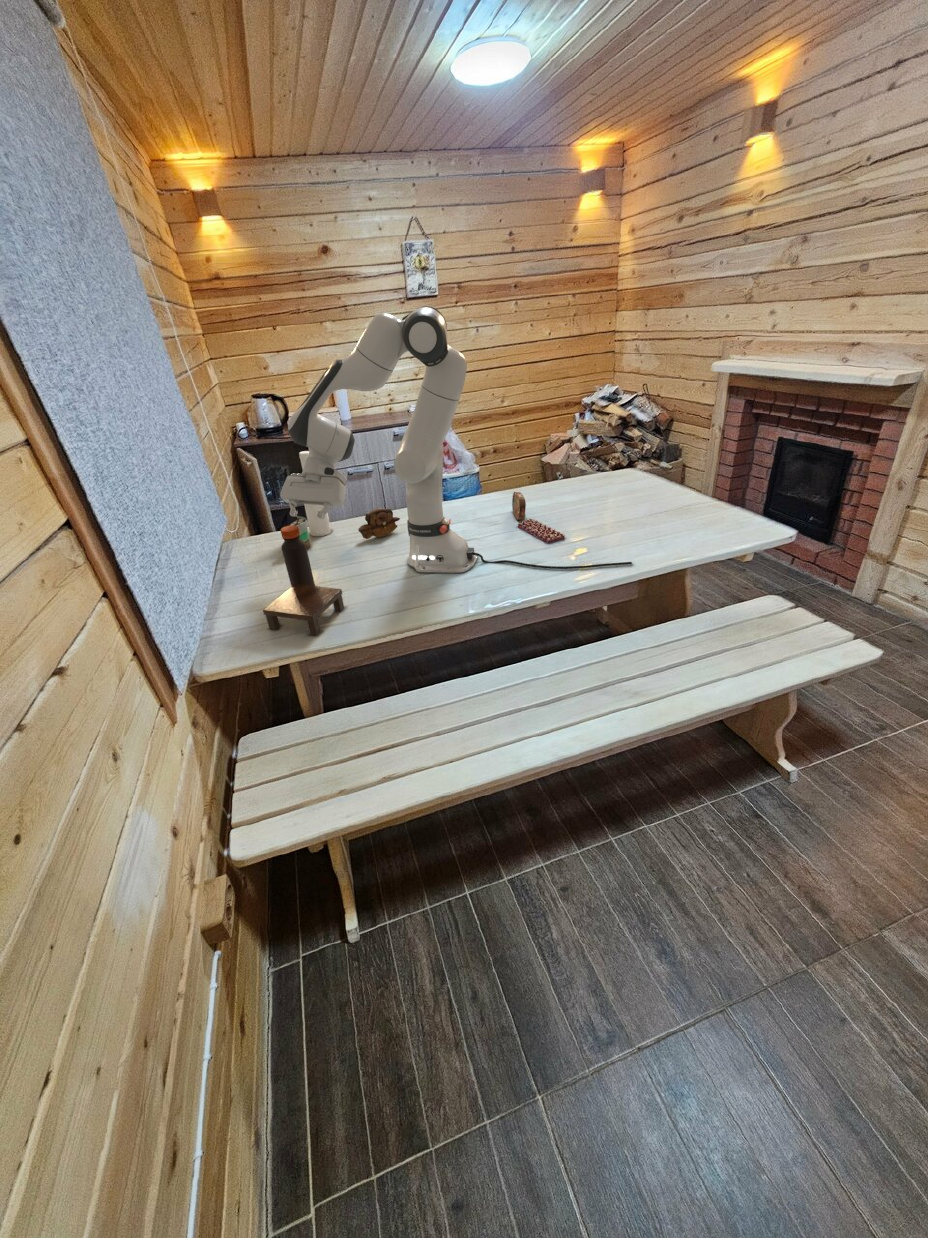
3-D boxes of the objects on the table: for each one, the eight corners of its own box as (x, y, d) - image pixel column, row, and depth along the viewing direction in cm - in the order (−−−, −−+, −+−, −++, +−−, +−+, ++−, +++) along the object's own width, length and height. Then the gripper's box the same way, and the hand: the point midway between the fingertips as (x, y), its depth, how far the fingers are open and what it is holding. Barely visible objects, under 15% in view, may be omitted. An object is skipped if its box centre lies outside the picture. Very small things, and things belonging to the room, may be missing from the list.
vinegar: (288, 594, 155) (271, 531, 145) (302, 584, 161) (287, 523, 150) (306, 597, 153) (291, 534, 143) (320, 587, 158) (306, 525, 148)
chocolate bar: (532, 522, 195) (533, 517, 194) (564, 538, 180) (564, 533, 179) (516, 526, 192) (516, 521, 191) (547, 543, 178) (547, 537, 177)
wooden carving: (366, 544, 185) (361, 517, 180) (359, 541, 188) (354, 514, 183) (403, 531, 194) (400, 505, 189) (396, 528, 197) (393, 502, 192)
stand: (345, 607, 147) (341, 589, 144) (317, 636, 135) (312, 616, 132) (299, 602, 151) (295, 583, 148) (268, 629, 139) (262, 609, 136)
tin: (511, 509, 208) (511, 489, 203) (519, 509, 208) (519, 488, 204) (518, 523, 195) (518, 501, 191) (526, 522, 195) (526, 500, 191)
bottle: (313, 538, 193) (295, 456, 177) (308, 531, 199) (290, 451, 183) (334, 533, 196) (318, 452, 180) (328, 527, 202) (312, 448, 186)
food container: (303, 556, 179) (297, 529, 174) (287, 555, 180) (280, 528, 175) (319, 542, 189) (313, 515, 184) (303, 541, 190) (297, 515, 185)
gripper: (282, 467, 157) (270, 509, 154) (342, 470, 151) (331, 514, 148) (294, 478, 162) (282, 518, 160) (352, 481, 157) (341, 523, 154)
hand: (306, 516), depth 154 cm, fingers open, 8 cm apart
